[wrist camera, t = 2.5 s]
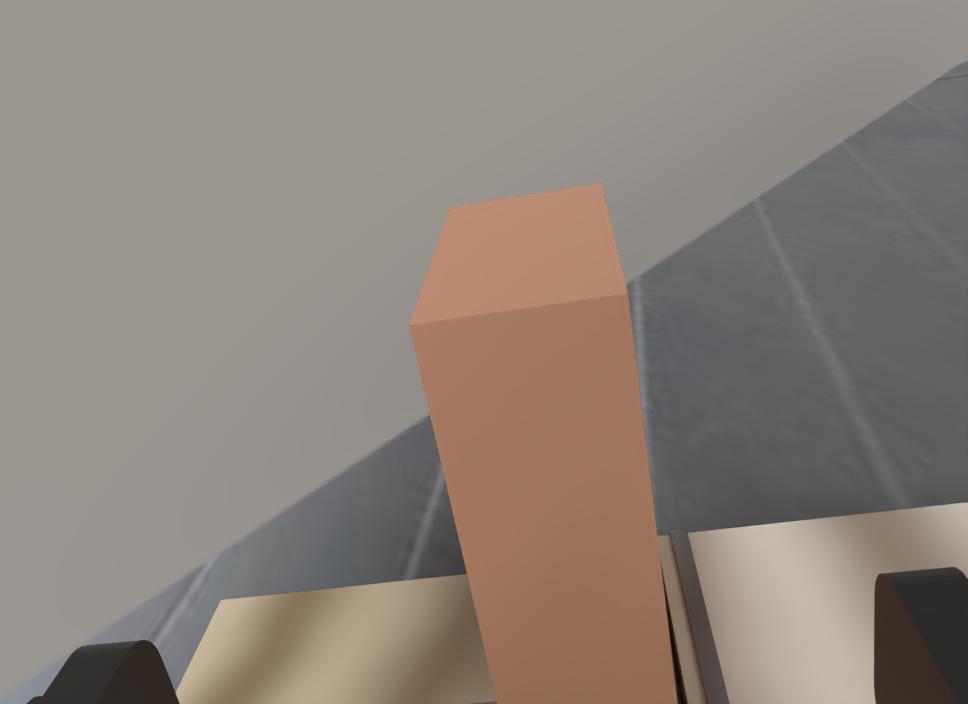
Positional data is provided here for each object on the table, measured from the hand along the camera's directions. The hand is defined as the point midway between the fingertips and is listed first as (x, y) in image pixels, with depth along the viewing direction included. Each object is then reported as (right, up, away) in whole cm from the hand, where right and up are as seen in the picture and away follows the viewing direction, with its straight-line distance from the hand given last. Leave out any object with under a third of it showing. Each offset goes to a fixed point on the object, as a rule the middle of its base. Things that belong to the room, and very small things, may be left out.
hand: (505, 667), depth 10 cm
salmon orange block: (+3, -7, +15) cm, 17 cm away
